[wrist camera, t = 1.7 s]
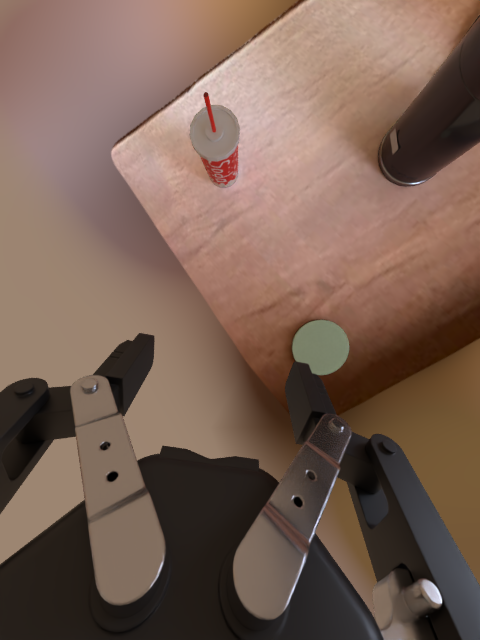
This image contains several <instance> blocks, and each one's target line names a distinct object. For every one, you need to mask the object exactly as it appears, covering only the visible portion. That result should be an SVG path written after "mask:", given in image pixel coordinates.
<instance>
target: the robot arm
mask: <svg viewBox="0 0 480 640" xmlns="http://www.w3.org/2000/svg"><path fill="white" fill-rule="evenodd" d="M479 142H480V15H479V16H478V18H477V19H476V21H475V22H474V23H473V25H472V26H471V28H470V29H469V31H468V32H467V33H466V35H465V36H464V37H463V39H462V40H461V41H460V42H459V44H458V45H457V46H456V47H455V49H454V50H453V51H452V53H451V54H450V55H449V56H448V58H447V59H446V60H445V61H444V63H443V64H442V65H441V67H440V68H439V69H438V70H437V72H436V73H435V74H434V75H433V77H432V78H431V79H430V81H429V82H428V83H427V84H426V86H425V87H424V88H423V89H422V91H421V92H420V93H419V95H418V96H417V97H416V98H415V100H414V101H413V102H412V103H411V105H410V106H409V107H408V109H407V110H406V111H405V112H404V113H403V115H402V116H401V117H400V118H399V120H398V121H397V122H396V124H395V125H394V126H393V127H392V128H391V129H390V130H389V131H388V133H387V134H386V135H385V137H384V138H383V140H382V142H381V144H380V147H379V153H378V160H379V165H380V168H381V170H382V172H383V174H384V175H385V176H386V177H387V178H388V179H389V180H390V181H392V182H393V183H395V184H398V185H401V186H415V185H419V184H421V183H424V182H425V181H427V180H428V179H430V178H431V177H433V176H434V175H435V174H436V173H437V172H439V171H440V170H441V169H443V168H444V167H446V166H447V165H449V164H450V163H451V162H453V161H454V160H456V159H457V158H458V157H460V156H461V155H463V154H464V153H465V152H467V151H468V150H470V149H471V148H472V147H474V146H475V145H477V144H478V143H479ZM153 359H154V336H153V335H148V334H142V333H139V334H138V335H137V336H136V338H135V339H134V340H133V341H129V340H127V341H125V342H123V343H121V344H120V345H119V346H118V347H117V348H116V349H115V350H114V352H112V353H111V355H110V356H109V357H108V358H107V359H106V360H105V361H104V363H103V364H102V365H101V366H100V367H99V368H98V370H97V371H96V372H95V373H94V374H93V375H90V376H86V377H83V378H80V379H78V380H77V381H76V382H74V383H73V384H72V386H65V387H52V388H48V384H47V382H46V381H45V380H43V379H39V378H29V379H23V380H20V381H17V382H15V383H12V384H11V385H9V386H8V387H6V388H5V389H4V390H3V391H2V392H0V514H1V512H2V511H3V510H4V508H5V507H6V505H7V504H8V503H9V501H10V500H11V499H12V497H13V496H14V494H15V493H16V491H17V490H18V489H19V487H20V486H21V485H22V483H23V482H24V481H25V479H26V478H27V476H28V475H29V474H30V472H31V471H32V469H33V468H34V467H35V465H36V464H37V463H38V461H39V460H40V458H41V457H42V456H43V454H44V453H45V451H46V450H47V449H48V447H49V446H50V445H51V443H52V442H53V440H54V439H61V438H68V437H75V436H76V440H77V447H78V455H79V462H80V469H81V476H82V483H83V491H84V498H85V500H84V501H82V502H81V503H80V504H78V505H77V506H76V507H74V508H73V509H72V510H71V511H69V512H68V513H67V514H65V515H64V516H63V517H61V518H60V519H59V520H58V521H56V522H55V523H54V524H52V525H51V526H50V527H48V528H47V529H46V530H44V531H43V532H42V533H41V534H39V535H38V536H37V537H35V538H34V539H33V540H31V541H30V542H29V543H28V544H26V545H25V546H24V547H22V548H21V549H20V550H19V551H17V552H16V553H14V554H13V555H12V556H11V557H9V558H8V559H7V560H5V561H4V562H3V563H1V564H0V640H480V585H479V584H478V582H477V580H476V578H475V577H474V575H473V573H472V571H471V570H470V568H469V566H468V564H467V563H466V561H465V559H464V557H463V556H462V554H461V552H460V550H459V549H458V547H457V545H456V543H455V542H454V540H453V538H452V537H451V535H450V533H449V531H448V529H447V528H446V526H445V524H444V522H443V520H442V519H441V517H440V516H439V513H438V512H437V510H436V508H435V507H434V505H433V503H432V501H431V500H430V498H429V496H428V494H427V492H426V491H425V489H424V487H423V486H422V484H421V482H420V480H419V478H418V477H417V475H416V473H415V471H414V470H413V468H412V466H411V464H410V463H409V461H408V459H407V457H406V456H405V454H404V452H403V451H402V449H401V448H400V446H399V445H398V444H397V443H395V442H394V441H393V440H392V439H390V438H389V437H386V436H384V435H382V434H374V435H372V437H371V438H370V439H367V438H365V437H362V436H360V435H358V434H356V433H354V432H352V431H351V428H350V426H349V425H348V423H347V422H346V421H345V420H343V419H342V418H340V417H339V416H337V415H336V412H335V410H334V408H333V405H332V403H331V401H330V398H329V396H328V395H327V391H326V389H325V386H324V384H323V382H322V380H321V379H320V378H319V377H318V376H317V374H314V373H312V371H311V369H310V366H309V364H307V363H302V362H296V361H295V362H294V363H293V365H292V368H291V371H290V373H289V376H288V379H287V381H286V386H285V392H286V397H287V402H288V407H289V412H290V417H291V422H292V426H293V431H294V436H295V441H296V444H302V445H303V446H302V448H301V449H300V451H299V452H298V454H297V456H296V457H295V459H294V460H293V462H292V464H291V465H290V467H289V468H288V470H287V471H286V473H285V475H284V476H283V478H282V479H281V481H280V483H279V482H278V481H277V480H276V479H275V478H274V477H273V476H271V475H270V474H269V473H267V472H265V471H264V470H262V469H260V468H259V461H258V460H257V459H250V458H243V457H237V456H234V457H226V458H217V459H209V458H206V457H204V456H201V455H199V454H197V453H195V452H192V451H190V450H188V449H182V448H176V447H168V446H162V449H161V452H160V454H154V455H150V456H147V457H144V458H142V459H140V460H138V461H137V459H136V456H135V453H134V450H133V447H132V444H131V441H130V438H129V435H128V432H127V429H126V426H125V422H124V419H123V416H125V414H126V412H127V410H128V408H129V407H130V405H131V403H132V401H133V400H134V398H135V396H136V394H137V392H138V391H139V389H140V387H141V385H142V383H143V382H144V380H145V378H146V376H147V375H148V372H149V371H150V369H151V367H152V364H153ZM337 477H338V478H340V479H342V480H344V481H346V482H347V484H348V487H349V491H350V494H351V498H352V501H353V504H354V507H355V510H356V514H357V517H358V520H359V523H360V527H361V530H362V533H363V537H364V540H365V543H366V547H367V550H368V553H369V556H370V559H371V563H372V566H373V569H374V573H375V576H376V579H377V583H376V585H375V586H374V588H373V595H372V597H373V605H374V611H375V613H374V616H375V619H374V617H373V615H372V613H371V612H370V610H369V609H368V607H367V605H366V604H365V602H364V601H363V600H362V598H361V597H360V595H359V594H358V593H357V591H356V590H355V589H354V587H353V586H352V584H351V583H350V581H349V580H348V578H347V577H346V576H345V574H344V573H343V572H342V570H341V569H340V567H339V566H338V564H337V563H336V562H335V560H334V559H333V557H332V556H331V555H330V553H329V552H328V550H327V549H326V547H325V546H324V545H323V543H322V542H321V541H320V539H319V538H318V536H317V535H316V533H315V531H316V528H317V526H318V524H319V521H320V519H321V516H322V514H323V511H324V509H325V506H326V503H327V501H328V498H329V496H330V494H331V491H332V489H333V486H334V483H335V481H336V478H337Z"/></svg>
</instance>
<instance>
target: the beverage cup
mask: <svg viewBox="0 0 480 640" xmlns="http://www.w3.org/2000/svg"><path fill="white" fill-rule="evenodd" d="M204 99H205V103H206V107H205V108H203V109H201V110H200V111H199V112H198V113H197V114H196V115H195V117H194V119H193V121H192V123H191V125H190V138H191V141H192V145H193V147H194V149H195V150H196V152H197V153H198V154H199V155H200V157H201V160H202V162H203V164H204V166H205V168H206V170H207V172H208V174H209V176H210V178H211V180H212V182H213V183H214V184H215V185H217V186H219V187H224V188H226V187H229V186H231V185H232V184H233V183H234V182H235V181H236V179H237V177H238V143H239V136H240V128H239V124H238V121H237V118H236V117H235V115H234V114H233V113H232V111H231V110H229V109H227V108H225V107H223V106H220V105H210V100H209V95H208V93H207V92H205V93H204Z"/></svg>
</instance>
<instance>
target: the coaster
mask: <svg viewBox="0 0 480 640" xmlns="http://www.w3.org/2000/svg"><path fill="white" fill-rule="evenodd" d="M348 352H349V342H348V338H347V336H346V334H345V332H344V331H343V330H342V329H341V328H340V327H339V326H338V325H337V324H335V323H333V322H330V321H327V320H313V321H310V322H308V323H306V324H304V325H303V326H302V327H300V328H299V330H298V331H297V332H296V334H295V336H294V338H293V341H292V353H293V357H294V359H295V361H296V362H302V363H307V364H309V366H310V369H311V371H312V373H314V374H317V375H326V374H330V373H332V372H334V371H336V370H338V369H339V368H340V367H341V366H342V365H343V364H344V362H345V361H346V359H347V356H348Z"/></svg>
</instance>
